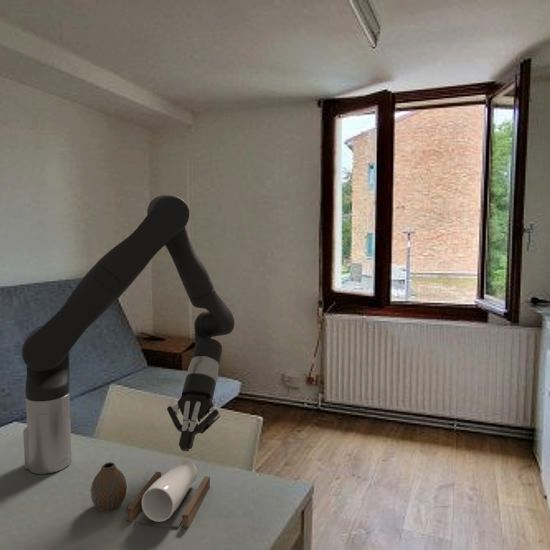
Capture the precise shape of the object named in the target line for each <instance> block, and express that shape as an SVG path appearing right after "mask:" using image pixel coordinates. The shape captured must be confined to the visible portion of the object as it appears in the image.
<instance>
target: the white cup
mask: <svg viewBox="0 0 550 550" xmlns="http://www.w3.org/2000/svg"><path fill="white" fill-rule="evenodd" d="M197 477H198V469H197V467H196V465H195V463H193V462H192V461H190V460H187V459H182V460H179V461H178V462H177V463H176V464H174V466H173V467H172V468H170V469H168V471H166V472H165V473H164V474H163V475H161V477H160V478H159V479H158V480H156V481H155V482H154V483H153V484H152V485H151V486H150V487H149V488H148V490H147V491H146V492H145V493H144V495H143V497H142V511H144V513H145V515H146V516H147V517H148V518H150V519H151V520H153V521H156V522H162V521H165V520H167V519H168V518H170V516H171V515H172V514H173V513H174V512H175V511H176V509H177V508H178V507H179V505H180V504H181V502H182V500H183V499H184V497H185V495H186V493H187V492H188V490H189V488H192V485H193V483H194V482H195V481H196V479H197Z"/></svg>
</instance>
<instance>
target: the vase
mask: <svg viewBox="0 0 550 550" xmlns="http://www.w3.org/2000/svg"><path fill="white" fill-rule="evenodd" d="M127 486H128V484H127V480H126V476H125V475H124V473H123V472H122V471H121V470H120V469H119V468H118V467H117V466H116V463H114V462H110V461H109V462H105V463H103V464H102V466H101V467H100V470H99V471H98V472H97V473H96V475H95V476H94V478H93V480H92V483H91V487H90V498H91V501H92V503H93V505H94V508H96V509H97V510H99V511H101V512H103V513H104V512H105V513H107V512H113V511H115V510H117V509H118V508H119V507H121V505H122V504H123V503H124V501H125V499H126V496H127V489H128V487H127Z"/></svg>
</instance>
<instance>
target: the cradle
mask: <svg viewBox="0 0 550 550" xmlns="http://www.w3.org/2000/svg"><path fill="white" fill-rule="evenodd" d="M161 476H162V471H155V472H154V474H153V475H152V476H151V477H150V478H149V480H148V481H147V483H146V484H144V486H143V487H142V489H141V490H140V491H139V493H138V494H137V495H136V496H135V498H134V499H133V500H132V502H131V503H130V504H129V505H128V507H126V521H127V522H132V523H133V522H134V524H136V525H144V526H153V527H161V528H162V527H163V528H171V529H180V527H182V528H185V529H186V528H188V529H189V528H190V526H191V524H192V522H193V520H194V518H195V517H196V514H197V513H198V512H199V509H200V507H201V505H202V504H203V501H204V500H205V498H206V496H207V494H208V491H209V490H210V488H211V476H208V475H207V476H203V478H202V480H201V481H200V483H199V485H198V487H196V488H195V487H190V488H189V490H188V492H187V493H186V495H185V497H184V499H183V500H182V502H181V504H180V505H179V507H178V508H177V509H176V511H175V512H174V513H173V514H172V515H171V516H170V518H168V519H167V520H165V521H162V522H156V521H153V520H151V519H150V518H148V517H147V516H146V515H145V513H144V511H143V509H142V497H143V495H144V493H145V492H146V491H147V490H148V488H149V487H150V486H151V485H152V484H153V483H154V482H155V481H156V480H158V479H159V478H160V477H161ZM181 525H182V526H181Z"/></svg>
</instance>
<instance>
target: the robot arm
mask: <svg viewBox="0 0 550 550" xmlns="http://www.w3.org/2000/svg"><path fill="white" fill-rule="evenodd" d="M146 210H147V212H146V213H147V214H146V216H145V218H144V219H143V220H142V221H141V223H140V224H139V225H138V226H137V228H136V229H135V230H133V232H132V233H130V234H129V236H128V237H125V239H123V240H121V242H119V243H118V244H116V245H115V246H114V247H113V248H111V249H110V250H108V252H106V253H105V254H104V255H102V257H101V258H100V259H98V261H97V262H96V263H95V264H94V265H93V266H92V267H91V268H90V269H89V271H88V272H86V273H85V275H84V276H83V277H82V279H81V280H80V281H79V282H78V284H77V285H76V287H75V288H74V289H73V291H72V292H71V293H70V295H69V297H68V298H67V299H66V301H65V303H64V304H63V305H62V307H60V309H59V310H58V311H57V312H56V313H55V314H54V315H53V316H52V317H51V318H50V319H49V320H48V321H47V322H45V323H44V324H43V325H40V326H38V327H36V328H34V329H32V331H31V332H30V333H29V334H28V336H27V337H26V339H25V340H24V341H23V344H22V348H21V349H22V350H21V357H22V360H23V362H24V364H25V365H26V379H25V387H24V388H25V390H24V391H25V406H26V407H25V408H26V409H25V410H26V427H24V429H23V432H22V434H23V435H22V436H23V454H24V455H23V456H24V469H25V470H29V472H31V473H33V474H36V475H37V474H38V475H45V474H52V473H56V472H58V471H62V470H63V469H65V468H67V467H68V466H69V465H70V464H71V463H72V461H73V460H72V431H71V430H72V429H71V428H72V427H71V402H70V401H71V399H70V398H71V397H70V396H71V395H70V378H71V376H70V374H71V373H70V372H71V371H70V351H71V350H72V348H73V347H74V346H75V344H76V343H77V341H78V340H79V339H80V338H81V336H82V335H83V334H84V332H85V331H87V329H89V327H90V326H91V325H92V324H93V323H95V322H96V321H97V320H98V319H99V318H100V317H101V316H102V315H103V314H104V313H105V312H106V311H108V309H109V308H111V307H112V305H113V304H114V303H115V302H116V301H117V300H119V298H120V297H121V296H122V295H123V294H124V293H125V292H126V291H127V290H128V289H129V287H130V286H131V285H132V284H133V282H135V280H136V279H137V278H138V276H140V274H141V273H142V272H143V270H145V268H146V267H147V266H148V264H149V263H150V262H151V260H152V259H154V257H155V256H156V255H157V253H158V252H159V251H160V250H161V249H163V248H164V246H165V247H166V248H165V249H166V250H167V252H168V253H169V255H170V257H171V258H172V259H171V260H172V261H173V263H174V267H175V269H176V271H177V273H178V276H179V278H180V281H181V282H182V283H181V284H182V285H183V288H184V290H185V293H186V295H187V296H188V300H189V302H190V304H192V306H193V307H194V308H196V309H197V308H198V309H204V310H206V311H202V312H201V313H199V314H198V315H197V316H196V318H195V321H194V325H193V326H194V349H193V353H192V356H191V360H190V363H189V365H188V369H187V373H186V375H185V380H184V384H183V387H182V391H181V396H180V398H179V399H178V401H177V404H174V405H173V406H171V405H170V406H167V408H166V410H167V412H168V414H169V417H170V418H171V420H172V423H173V425H174V428H175V429H176V431H177V432H180V433H181V434H180V437H179V442H178V446H179V449H180V450H181V451H182V452H190V450H192V448H193V446H194V442H195V437H196V436H197V434H204V433H205V432H206V431H207V430H208V429H210V428H211V426H213V424H215V423H216V421H218V420H219V419H220V417H221V414H220V411H219V410H217V409H215V408H214V403H213V400H214V396H215V395H214V394H215V391H216V386H217V382H218V379H219V378H218V376H219V368H220V367H219V366H220V362H221V357H222V353H223V346H222V344H221V343H220V341H218V340H216V339H215V337H221V336H226V335H229V334H231V333H232V332H233V331H234V328H235V318H234V315H233V313H232V311H231V310H230V308H229V307H228V305H227V304H226V303H225V302H224V301H223V299H222V298H221V296H220V295H219V294H218V293H217V291H216V289H215V286H214V284H213V282H212V280H211V278H210V275H209V273H208V271H207V269H206V267H205V265H204V264H203V263H204V262H202V259H201V258H200V256H199V255H198V254H197V251H196V250H195V248H194V246H193V244H192V242H191V240H190V238H189V234H188V232H187V229H186V228H187V227H186V226H187V224H188V222H189V220H190V213H191V212H190V208H189V205H188V204H187V202H186V201H185V200H184V199H182V198H181V197H179V196H177V195H172V194H171V195H170V194H164V195H163V194H162V195H157V196H156V197H154V198H153V199H152V200H151V201H150V202H149V204H148V206H147V209H146ZM179 411H180V413H181V415H182V424H181V422H180V420H179V418H178V415H179Z"/></svg>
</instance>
